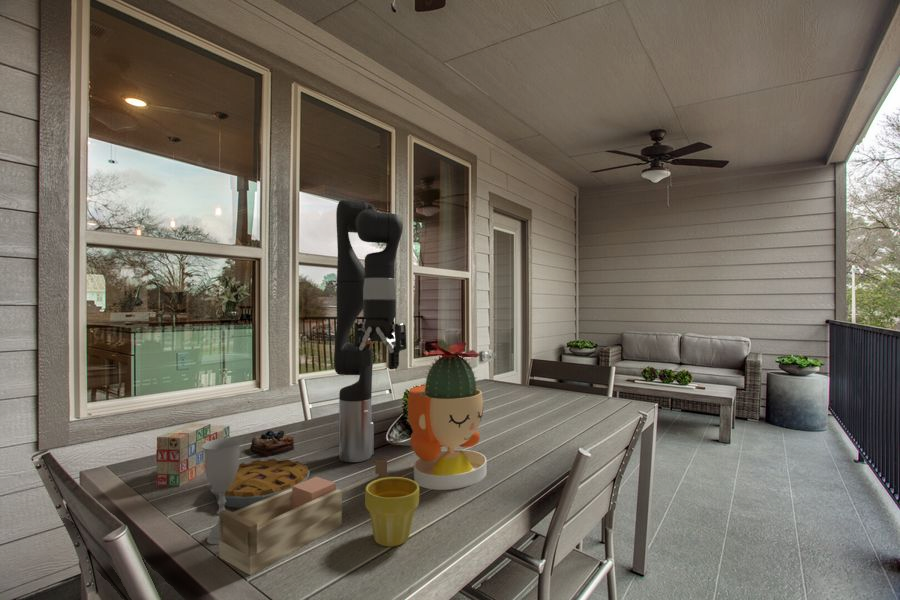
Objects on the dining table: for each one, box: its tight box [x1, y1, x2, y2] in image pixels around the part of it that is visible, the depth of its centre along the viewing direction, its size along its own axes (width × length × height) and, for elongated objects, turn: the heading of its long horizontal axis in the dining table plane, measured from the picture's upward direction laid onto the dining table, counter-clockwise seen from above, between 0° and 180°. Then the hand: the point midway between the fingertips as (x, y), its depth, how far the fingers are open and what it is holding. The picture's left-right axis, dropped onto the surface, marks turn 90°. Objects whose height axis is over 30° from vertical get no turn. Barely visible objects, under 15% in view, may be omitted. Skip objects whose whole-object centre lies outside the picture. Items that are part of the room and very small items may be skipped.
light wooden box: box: [218, 488, 343, 576], centre depth 84 cm, size 20×9×8 cm, turn 146°
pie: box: [208, 458, 311, 509], centre depth 107 cm, size 22×22×5 cm
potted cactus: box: [407, 341, 488, 491], centre depth 119 cm, size 22×22×35 cm
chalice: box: [202, 437, 243, 545], centre depth 86 cm, size 7×7×18 cm
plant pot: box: [364, 476, 420, 547], centre depth 86 cm, size 10×10×10 cm
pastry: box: [250, 429, 295, 458], centre depth 137 cm, size 11×12×6 cm
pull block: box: [292, 458, 388, 510], centre depth 98 cm, size 24×6×6 cm, turn 146°
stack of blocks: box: [155, 422, 231, 487], centre depth 120 cm, size 21×6×12 cm, turn 175°
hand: (379, 367), depth 104 cm, fingers open, 8 cm apart
